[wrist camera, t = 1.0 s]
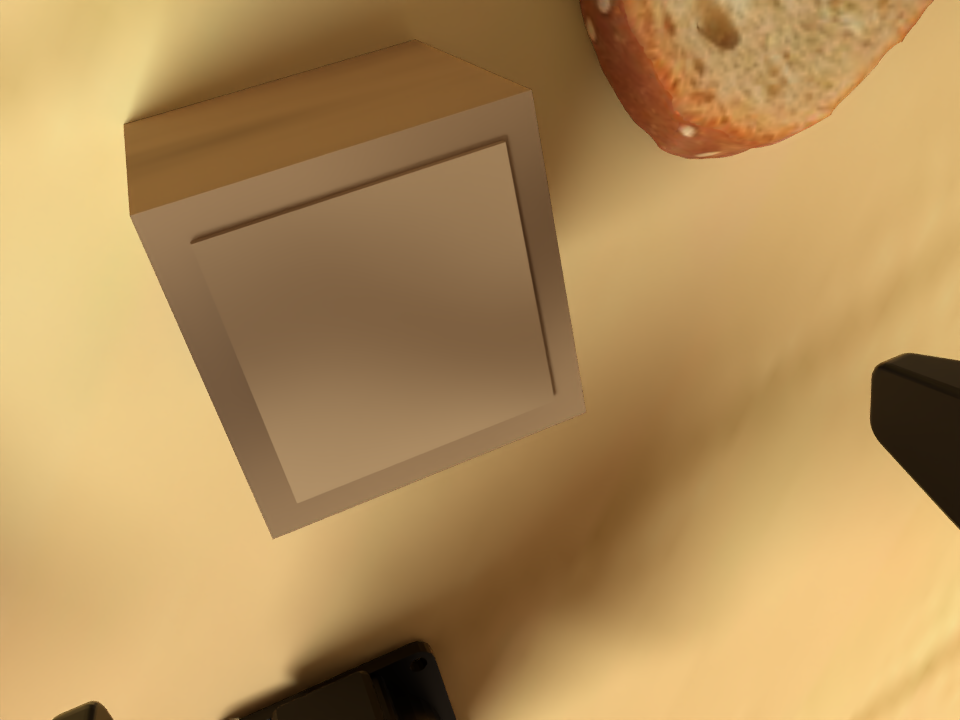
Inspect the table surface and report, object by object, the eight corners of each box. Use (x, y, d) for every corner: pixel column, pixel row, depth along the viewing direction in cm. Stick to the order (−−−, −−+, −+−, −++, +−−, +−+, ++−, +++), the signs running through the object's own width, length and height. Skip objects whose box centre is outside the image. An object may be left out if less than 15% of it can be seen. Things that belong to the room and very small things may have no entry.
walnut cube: (473, 292, 21) (589, 415, 16) (231, 380, 20) (273, 543, 15) (414, 38, 18) (535, 90, 13) (123, 123, 17) (129, 218, 12)
